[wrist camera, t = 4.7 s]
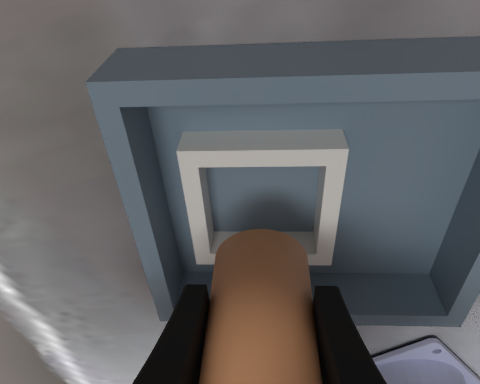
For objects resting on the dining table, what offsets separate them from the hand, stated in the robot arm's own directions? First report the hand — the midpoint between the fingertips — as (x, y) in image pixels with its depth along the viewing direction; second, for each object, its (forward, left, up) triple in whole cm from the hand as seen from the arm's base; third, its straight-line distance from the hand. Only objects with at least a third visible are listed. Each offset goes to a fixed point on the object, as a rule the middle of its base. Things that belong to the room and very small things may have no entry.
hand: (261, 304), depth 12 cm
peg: (0, 0, -2) cm, 2 cm away
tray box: (-1, -1, -6) cm, 7 cm away
